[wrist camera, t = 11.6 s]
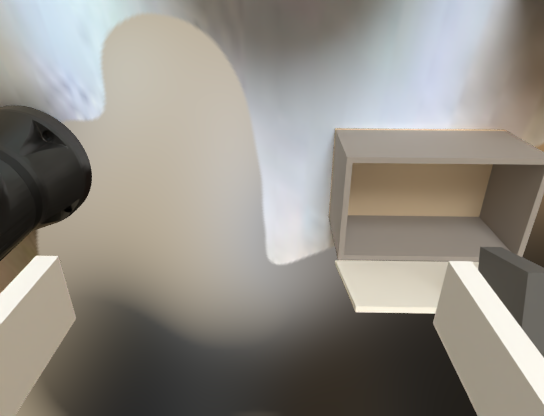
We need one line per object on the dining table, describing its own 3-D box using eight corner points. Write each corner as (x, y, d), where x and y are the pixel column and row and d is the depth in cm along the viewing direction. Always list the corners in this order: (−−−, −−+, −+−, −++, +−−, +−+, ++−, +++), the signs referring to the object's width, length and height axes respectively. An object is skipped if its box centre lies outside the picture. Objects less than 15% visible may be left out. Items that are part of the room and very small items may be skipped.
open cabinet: (328, 216, 54) (337, 259, 45) (335, 128, 48) (347, 157, 39) (480, 218, 53) (520, 262, 44) (504, 129, 48) (555, 158, 39)
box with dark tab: (336, 215, 44) (334, 268, 45) (376, 270, 26) (371, 357, 27) (528, 217, 43) (522, 271, 44) (708, 275, 25) (691, 363, 26)
